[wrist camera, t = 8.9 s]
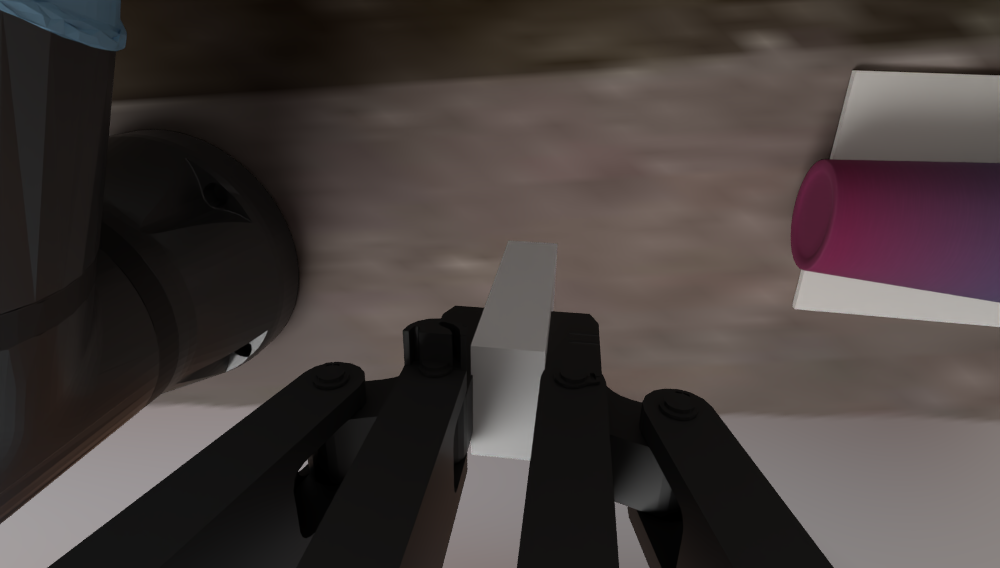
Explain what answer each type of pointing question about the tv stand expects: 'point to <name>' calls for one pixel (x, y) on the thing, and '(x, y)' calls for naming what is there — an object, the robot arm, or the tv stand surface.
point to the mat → (910, 137)
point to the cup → (902, 224)
